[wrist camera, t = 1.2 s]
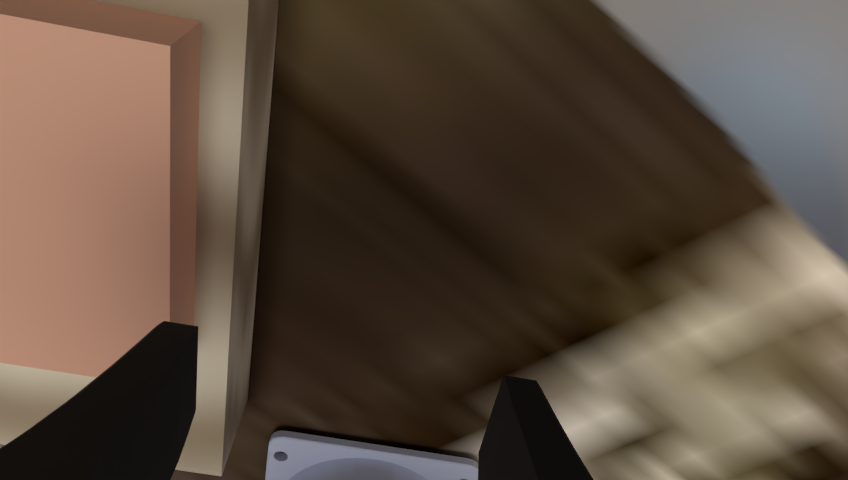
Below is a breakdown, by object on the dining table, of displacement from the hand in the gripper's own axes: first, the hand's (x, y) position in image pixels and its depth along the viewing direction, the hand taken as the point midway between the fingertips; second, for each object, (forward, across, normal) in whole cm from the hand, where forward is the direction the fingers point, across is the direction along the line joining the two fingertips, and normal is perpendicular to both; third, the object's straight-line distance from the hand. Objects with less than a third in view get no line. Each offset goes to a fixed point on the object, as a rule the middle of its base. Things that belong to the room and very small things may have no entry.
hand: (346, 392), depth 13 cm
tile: (+6, +8, 0) cm, 10 cm away
